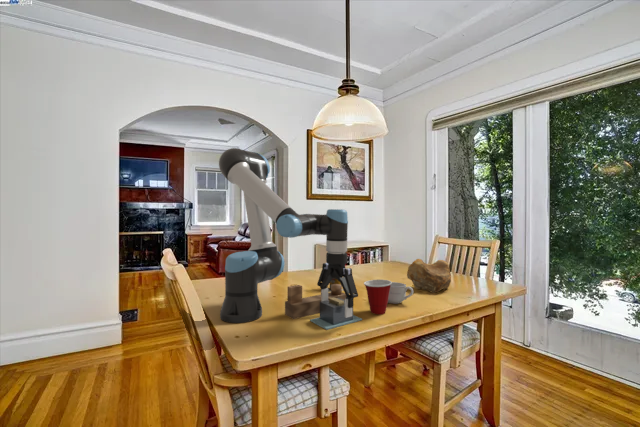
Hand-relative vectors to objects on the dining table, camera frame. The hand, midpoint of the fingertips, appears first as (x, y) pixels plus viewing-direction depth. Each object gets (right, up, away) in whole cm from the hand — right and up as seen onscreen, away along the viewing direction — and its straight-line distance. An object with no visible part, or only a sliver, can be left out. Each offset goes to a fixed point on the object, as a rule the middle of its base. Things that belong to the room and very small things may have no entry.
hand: (336, 311), depth 111 cm
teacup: (+27, -4, +22) cm, 35 cm away
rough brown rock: (+51, -3, +44) cm, 67 cm away
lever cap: (0, -3, 0) cm, 3 cm away
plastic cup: (+17, -4, +10) cm, 19 cm away
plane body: (-7, -3, +11) cm, 13 cm away
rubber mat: (0, -3, 0) cm, 3 cm away
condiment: (+1, -3, +43) cm, 43 cm away
